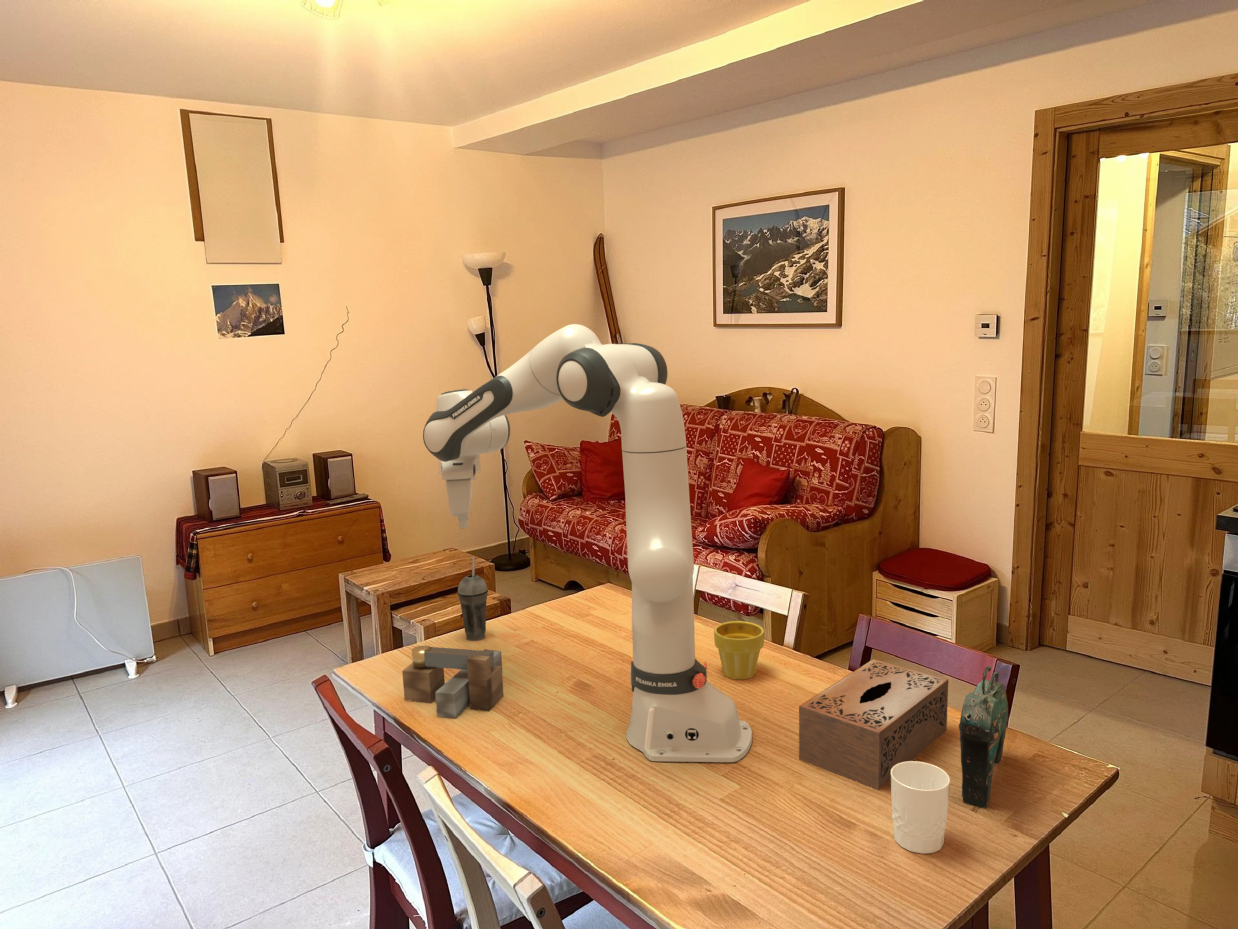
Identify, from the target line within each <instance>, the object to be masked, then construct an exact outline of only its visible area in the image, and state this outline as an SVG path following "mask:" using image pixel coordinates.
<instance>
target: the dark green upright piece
mask: <svg viewBox="0 0 1238 929" xmlns="http://www.w3.org/2000/svg"><path fill="white" fill-rule="evenodd" d="M991 670H992V666H989V665H988V666H986V667H985V669H984V671H983V673H982V678H981V679H982V680H981V681H980V682H979V683H977V685H976V687H975V688H974V690H973V692H969V693H967V694H966V695H965V697H964V702H963V705H962V708H961V709H962V710H961V714H960V719H959V724H958V730H959V742H960V763H961V765H960V766H961V774H962V775H961V777H962V780H961V797H962V802H963V803H965V804H967V805H968V804H969V805H971V806H975V807H978V808H983V809H987V807H988V805H989V802H990V798H991V792H992V785H993V773H994V763H995V765H996V764H1000V763H1001V762H1002V758H1003V755H1004V754H1003V752H1004V746H1005V745H1004V744H1005V739H1006V733H1007V727H1008V722H1009V706H1008V705H1009V704H1008V697H1007V692H1006V687H1005V685H1004V684H1003V683H1001V682H999V672H998V671H995V672H993V674H992V676H991V678H990V680H987V674H988V672H990V671H991ZM994 679H995V680H994Z"/></svg>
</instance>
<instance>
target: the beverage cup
mask: <svg viewBox="0 0 1238 929" xmlns="http://www.w3.org/2000/svg"><path fill="white" fill-rule="evenodd" d="M475 559H476V558H475V555H473V556H472V565H471V566H472V568H471V570H472V572H471V574H469V575H466V576H464V577H463V578H461V580H460V582H459V584H458V587H457V596H458V600H459V603H460V608H461V615H462V620H463V627H464V633H465V636H466V640H467V641H470V642H477V641H481V640H484V639H485V637H486V631H487V630H486V628H487V627H486V626H487V599H488V592H489V588H488V586H487V583H486V581H485V580H484V578H483V577H481V576H479V575H477V574H475V573H476V572H475V568H476V566H475V563H476V562H475V561H476V560H475Z"/></svg>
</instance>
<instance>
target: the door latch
mask: <svg viewBox="0 0 1238 929" xmlns="http://www.w3.org/2000/svg"><path fill="white" fill-rule="evenodd" d="M482 650H483V651H493V653H494V666H493V667H492V668H491V663H490V657H489V656H478V655H471V656H470V657H469V658H467V668H468V670H463V669H459V671H458V672H456V674H455V675H453V676H452V677H451V678H449V680H448V681H445V680H446V678H445V668H436V667H415V666H413V662H412V663H410V664H409V665H408V666H406V667H405V668H404V669H403V670H401V672H402V685H403V693H404V694H403V698H404V701H405V700H411V701H410V702H414V701H416V703H423V702H424V703H423V704H425V703H426V704H432V703H433V702H434V701H435V706H436V716H439V717H440V718H446V719H447V718H448V719H457V718H458V717H459V716H460V715H461V714H462V713H463V712H464V711H465V710H466V709H467V708H468V707H469V710H472V711H473V710H475V711H482V712H490V711H491V710H492V709H493V708H494V707H495V706H496V705H497V703H498V702H500V701H501V699H502V698H503V697H504V682H503V681H504V680H503V661H502V660H503V658H502V656H503V655H502V650H497V649H482ZM435 699H436V700H435ZM439 717H438V718H439Z"/></svg>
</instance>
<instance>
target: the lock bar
mask: <svg viewBox="0 0 1238 929" xmlns="http://www.w3.org/2000/svg"><path fill="white" fill-rule="evenodd" d="M483 650H484V649H482V650H481V649H465V648H453V647H452V648H451V647H437V646H430V645H418V646H415V647H413V648H412V649H411V660H412V661H411V662H412V663H413V666H415V667H436V668H444V669H453V670H454V669H455V670H461V669H463V670H468V668H467V658H469V657H470V656H471V655H478V656H489V657H490V663H491V668H492V667H493V666H494V653H493V651H483Z"/></svg>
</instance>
